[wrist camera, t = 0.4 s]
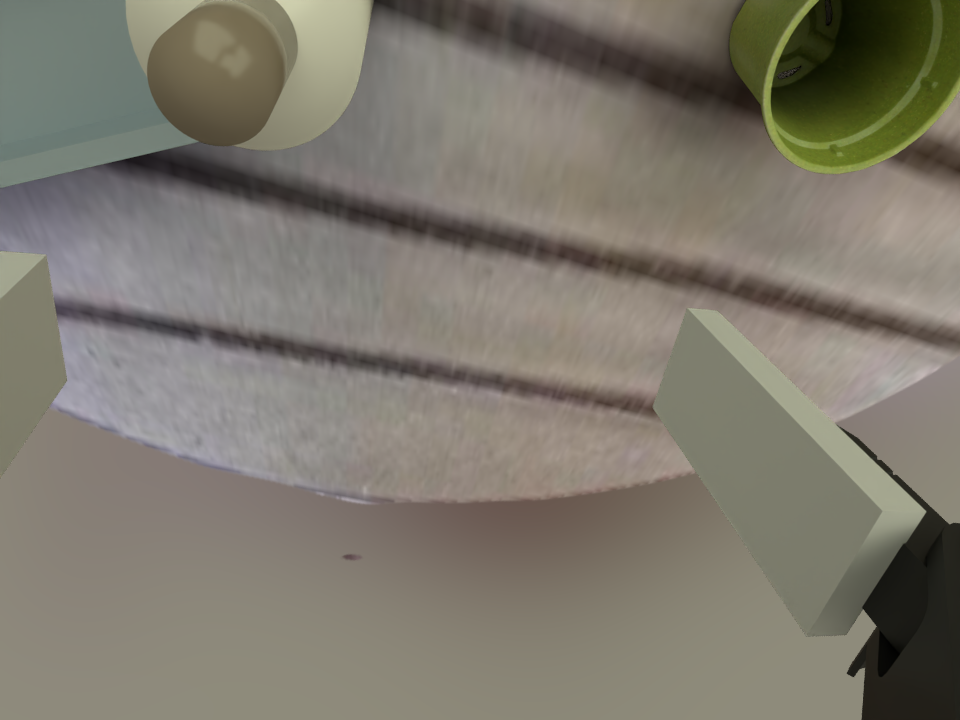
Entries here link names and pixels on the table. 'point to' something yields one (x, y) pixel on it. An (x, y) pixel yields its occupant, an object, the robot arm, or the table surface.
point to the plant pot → (848, 75)
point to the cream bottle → (250, 66)
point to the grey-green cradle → (73, 90)
